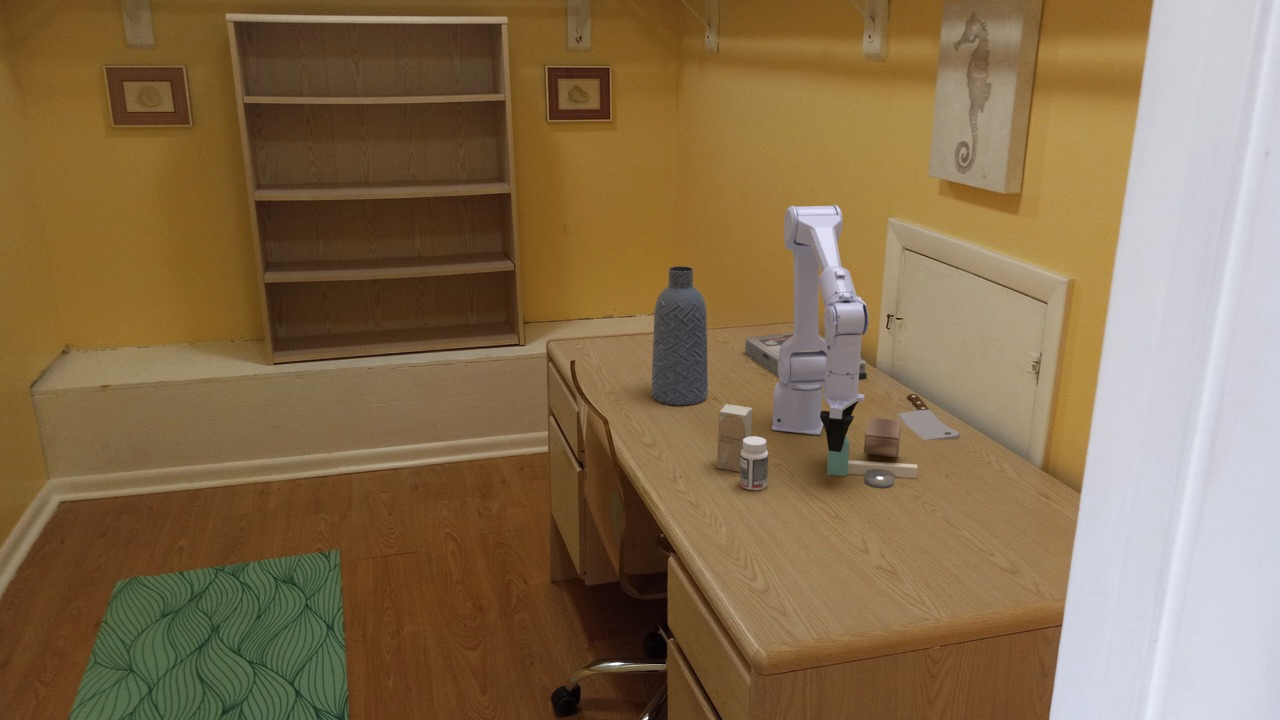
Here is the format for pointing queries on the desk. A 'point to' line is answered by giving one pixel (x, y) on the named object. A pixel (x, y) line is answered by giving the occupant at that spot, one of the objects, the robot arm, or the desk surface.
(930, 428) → the kitchen cleaver
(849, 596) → the desk surface
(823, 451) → the desk surface
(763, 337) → the board game box
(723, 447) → the box
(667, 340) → the vase
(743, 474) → the pill bottle
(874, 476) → the disc
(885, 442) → the cabinet
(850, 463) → the teal toy mallet
